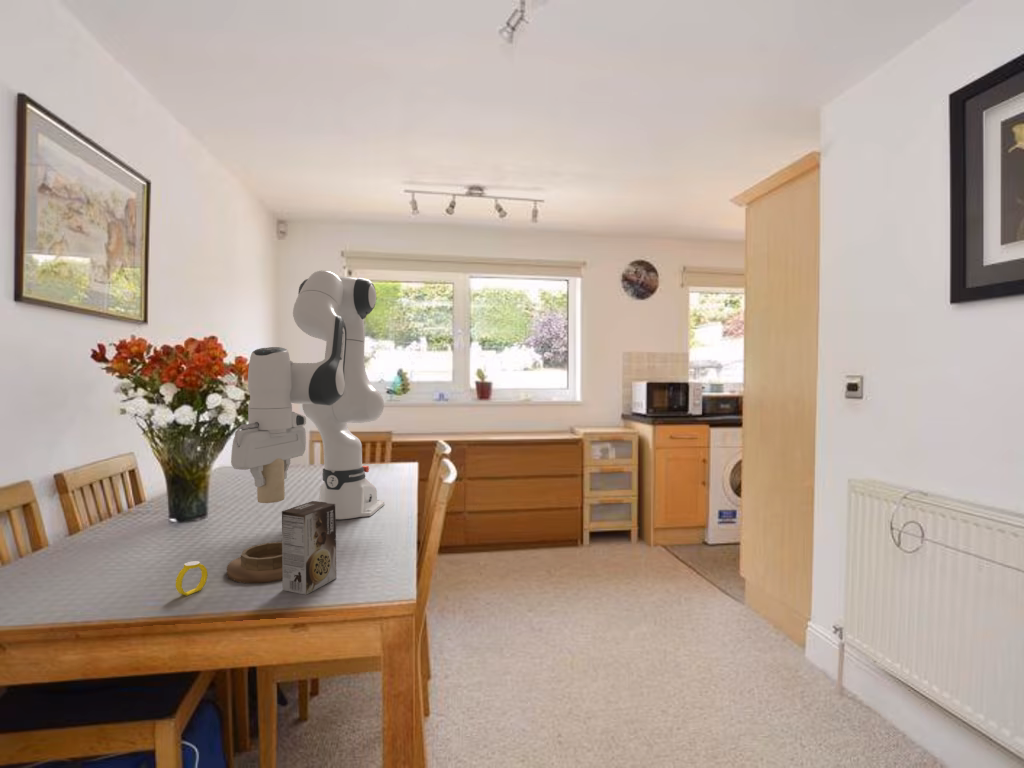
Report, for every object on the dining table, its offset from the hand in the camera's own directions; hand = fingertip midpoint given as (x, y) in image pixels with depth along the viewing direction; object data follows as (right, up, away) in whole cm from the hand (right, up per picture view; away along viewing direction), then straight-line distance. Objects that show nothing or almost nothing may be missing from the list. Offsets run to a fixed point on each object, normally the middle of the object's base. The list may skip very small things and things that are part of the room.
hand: (271, 482), depth 119 cm
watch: (-10, -20, -13) cm, 25 cm away
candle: (0, -4, 0) cm, 4 cm away
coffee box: (+12, -20, -9) cm, 24 cm away
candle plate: (0, -19, 0) cm, 19 cm away
